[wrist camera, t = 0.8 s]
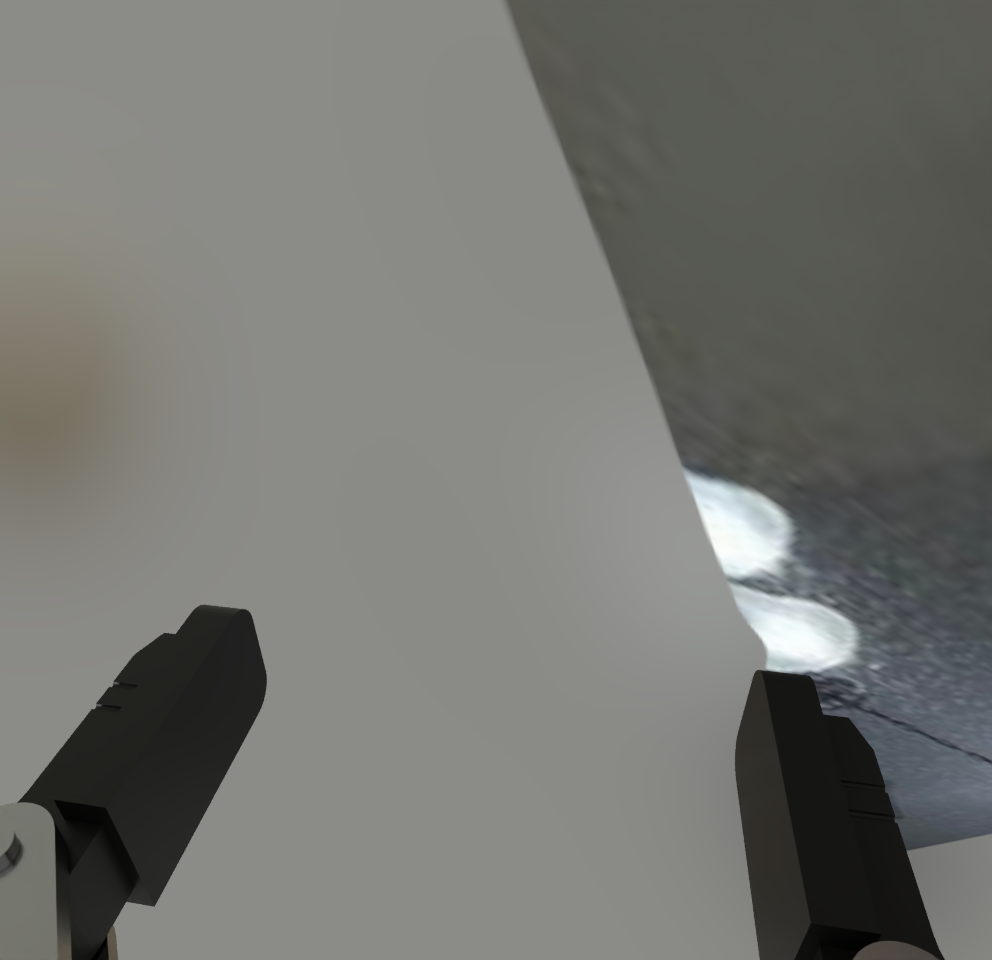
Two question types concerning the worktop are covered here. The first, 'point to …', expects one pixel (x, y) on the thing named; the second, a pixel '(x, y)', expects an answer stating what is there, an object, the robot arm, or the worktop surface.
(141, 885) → the robot arm
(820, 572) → the worktop surface
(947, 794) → the worktop surface
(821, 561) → the worktop surface
